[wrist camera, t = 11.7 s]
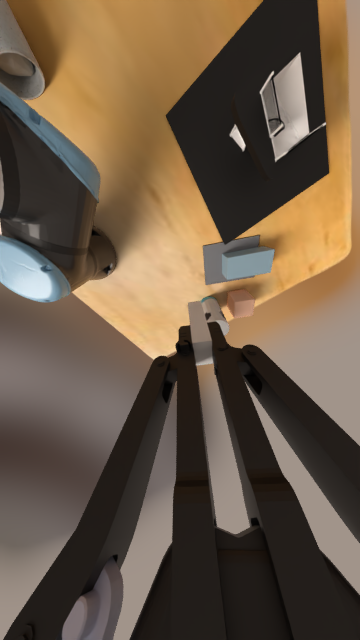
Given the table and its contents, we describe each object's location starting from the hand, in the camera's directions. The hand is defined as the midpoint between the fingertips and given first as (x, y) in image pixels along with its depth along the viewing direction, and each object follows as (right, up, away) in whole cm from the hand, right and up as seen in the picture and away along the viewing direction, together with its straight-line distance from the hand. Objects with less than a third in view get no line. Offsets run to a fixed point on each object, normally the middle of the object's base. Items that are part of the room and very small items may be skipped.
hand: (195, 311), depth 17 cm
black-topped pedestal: (+14, +37, +14) cm, 42 cm away
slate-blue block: (+23, +17, +24) cm, 37 cm away
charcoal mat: (+14, +17, +28) cm, 35 cm away
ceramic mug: (-31, +44, +9) cm, 55 cm away
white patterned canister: (+9, +5, +36) cm, 38 cm away
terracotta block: (+19, +7, +35) cm, 40 cm away
